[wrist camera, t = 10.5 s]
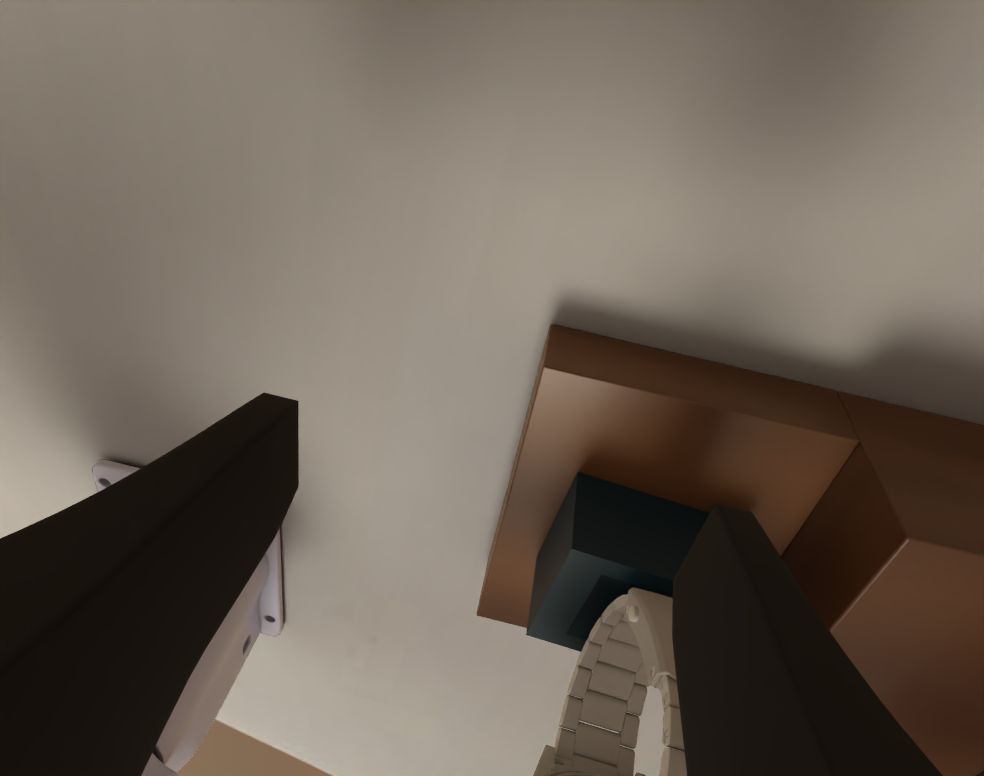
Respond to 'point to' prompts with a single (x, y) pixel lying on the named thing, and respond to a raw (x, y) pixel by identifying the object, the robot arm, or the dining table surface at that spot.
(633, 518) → the watch
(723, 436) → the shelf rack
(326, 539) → the dining table surface
